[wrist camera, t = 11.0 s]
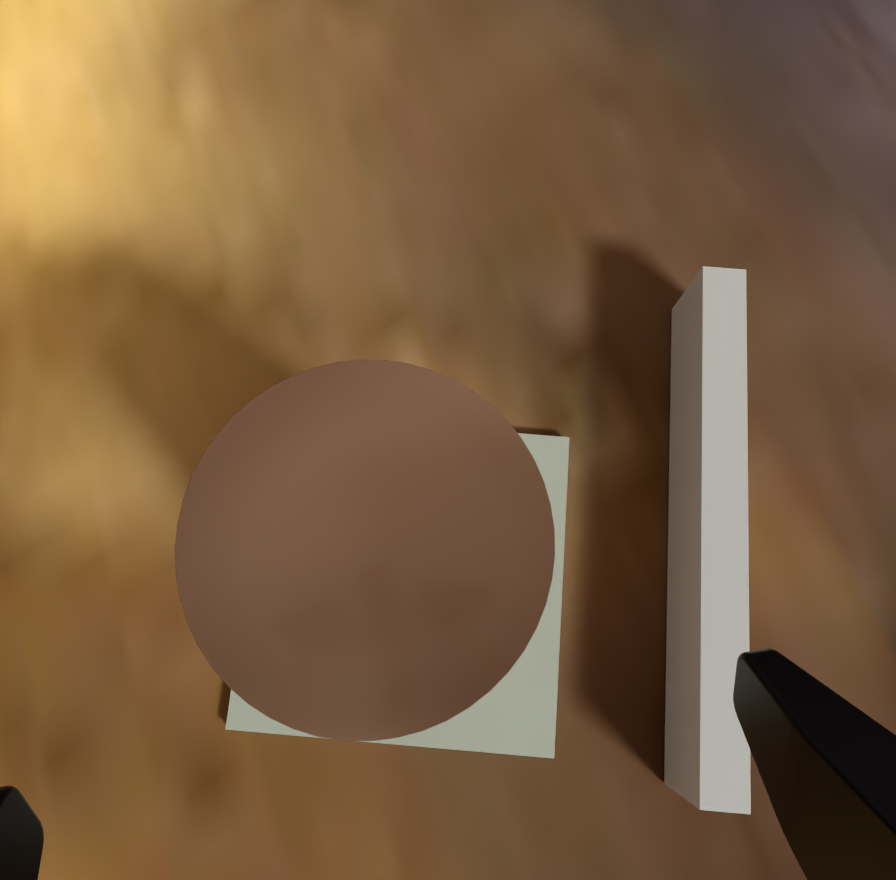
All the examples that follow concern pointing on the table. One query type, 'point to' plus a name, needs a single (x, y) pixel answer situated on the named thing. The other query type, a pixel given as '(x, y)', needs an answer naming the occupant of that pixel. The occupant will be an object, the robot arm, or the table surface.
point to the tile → (522, 689)
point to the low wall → (708, 544)
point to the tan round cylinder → (365, 550)
